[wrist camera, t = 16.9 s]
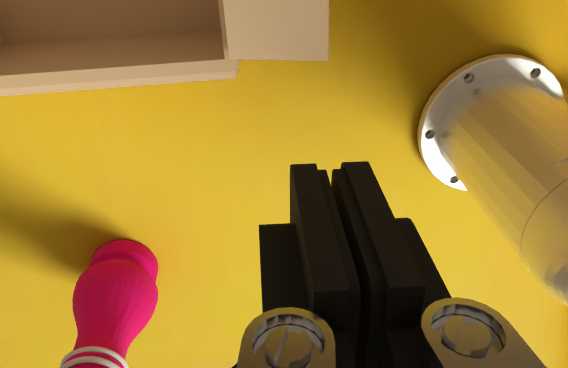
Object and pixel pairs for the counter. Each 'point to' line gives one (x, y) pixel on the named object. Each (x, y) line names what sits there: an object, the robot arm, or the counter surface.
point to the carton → (110, 44)
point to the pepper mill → (112, 304)
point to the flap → (277, 29)
